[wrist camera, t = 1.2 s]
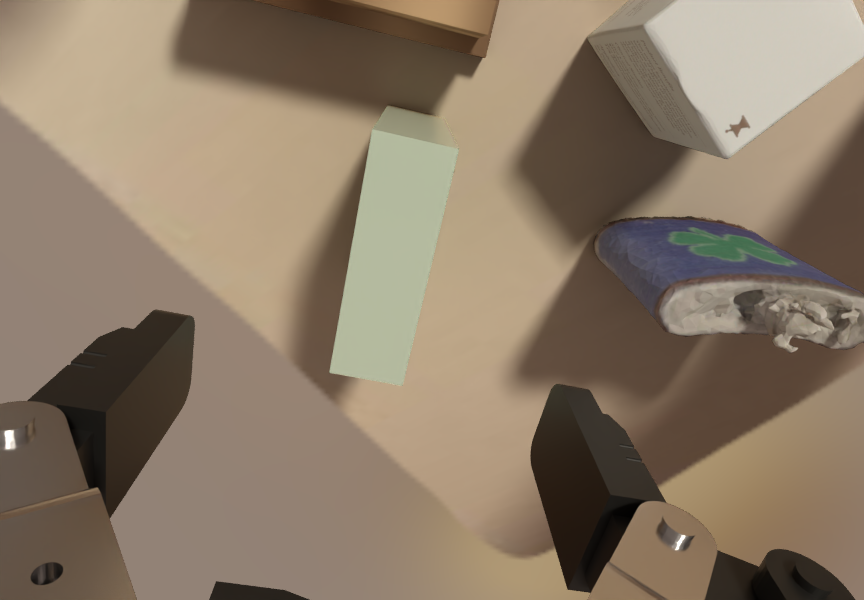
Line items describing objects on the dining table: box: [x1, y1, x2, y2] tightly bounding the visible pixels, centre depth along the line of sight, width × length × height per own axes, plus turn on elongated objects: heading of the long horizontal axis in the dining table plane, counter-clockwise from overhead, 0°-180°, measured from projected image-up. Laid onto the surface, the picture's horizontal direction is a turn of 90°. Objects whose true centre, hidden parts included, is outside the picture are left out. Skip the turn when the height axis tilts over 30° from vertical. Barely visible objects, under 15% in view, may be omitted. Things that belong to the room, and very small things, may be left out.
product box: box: [587, 0, 864, 159], centre depth 23 cm, size 6×6×7 cm
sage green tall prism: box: [329, 105, 459, 386], centre depth 24 cm, size 3×9×10 cm, turn 167°
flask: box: [594, 216, 864, 353], centre depth 25 cm, size 9×3×11 cm, turn 85°
